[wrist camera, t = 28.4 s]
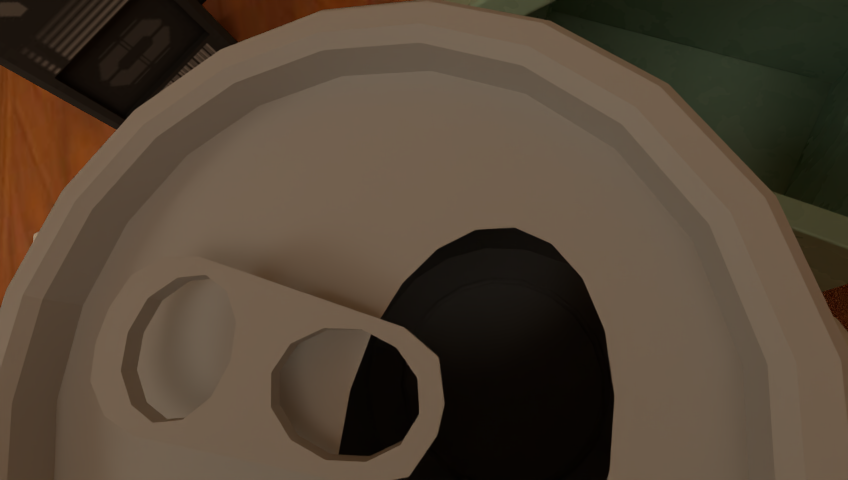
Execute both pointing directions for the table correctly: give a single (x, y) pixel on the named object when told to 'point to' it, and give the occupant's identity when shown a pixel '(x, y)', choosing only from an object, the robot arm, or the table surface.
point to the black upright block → (107, 48)
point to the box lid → (507, 5)
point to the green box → (751, 93)
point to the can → (418, 275)
